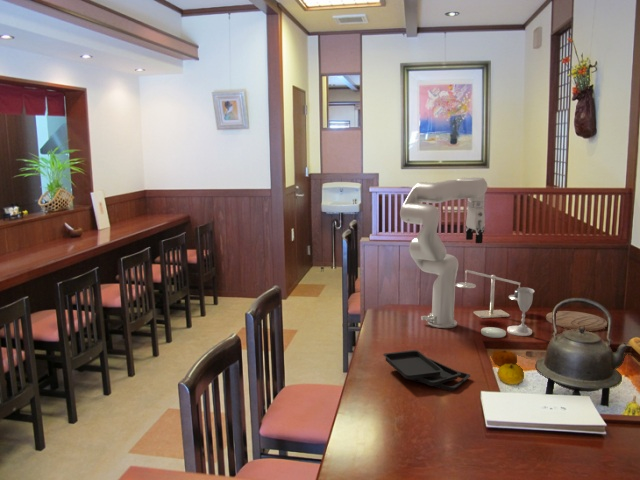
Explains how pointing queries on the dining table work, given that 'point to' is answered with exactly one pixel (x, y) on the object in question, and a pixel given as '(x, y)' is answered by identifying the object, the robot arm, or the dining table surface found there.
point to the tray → (424, 369)
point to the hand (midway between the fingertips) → (473, 241)
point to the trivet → (577, 320)
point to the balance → (491, 312)
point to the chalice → (524, 305)
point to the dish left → (493, 332)
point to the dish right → (513, 331)
